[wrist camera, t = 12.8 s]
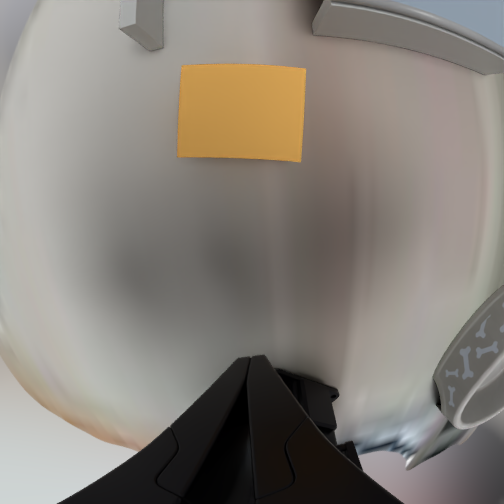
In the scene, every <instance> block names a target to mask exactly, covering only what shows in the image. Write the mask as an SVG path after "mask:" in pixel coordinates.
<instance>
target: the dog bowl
mask: <svg viewBox="0 0 504 504" xmlns="http://www.w3.org/2000/svg"><path fill="white" fill-rule="evenodd" d="M433 378H434V380H435V382H436V385H437V387H438V390H439V394H440V399H441V406H440V405H437V404H436V406H437V407H438V409H439V410H440V411H441V413H442V414H443V415H444V416H445V417H447V419H448V420H449V421H450V422H451V423H452V424H453V425H454V427H456V428H458V429H468V428H472V427H475V426H477V425H480V424H481V423H484V422H486V421H487V420H489V419H491V418H492V417H494V416H495V415H497V414H498V413H499V412H501V411H502V410H503V409H504V285H503V286H501V287H500V288H499V289H498V290H496V291H495V292H494V293H493V294H492V295H491V296H490V297H489V298H488V299H487V300H486V301H485V302H484V303H483V304H482V305H481V306H480V307H479V308H478V309H477V310H476V311H475V313H474V314H473V315H472V316H471V317H470V319H469V320H468V321H467V322H466V323H465V325H464V326H463V327H462V329H461V330H460V331H459V333H458V334H457V335H456V337H455V338H454V340H453V341H452V342H451V344H450V345H449V347H448V348H447V350H446V352H445V353H444V355H443V357H442V358H441V360H440V362H439V364H438V366H437V368H436V370H435V372H434V374H433Z"/></svg>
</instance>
